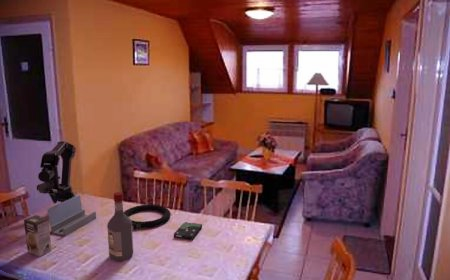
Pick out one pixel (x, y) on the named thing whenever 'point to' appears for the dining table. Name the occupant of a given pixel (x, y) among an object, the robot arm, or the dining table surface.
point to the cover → (64, 210)
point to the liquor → (120, 232)
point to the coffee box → (37, 235)
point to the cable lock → (148, 223)
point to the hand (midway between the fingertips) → (55, 203)
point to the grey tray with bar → (72, 223)
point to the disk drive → (188, 231)
